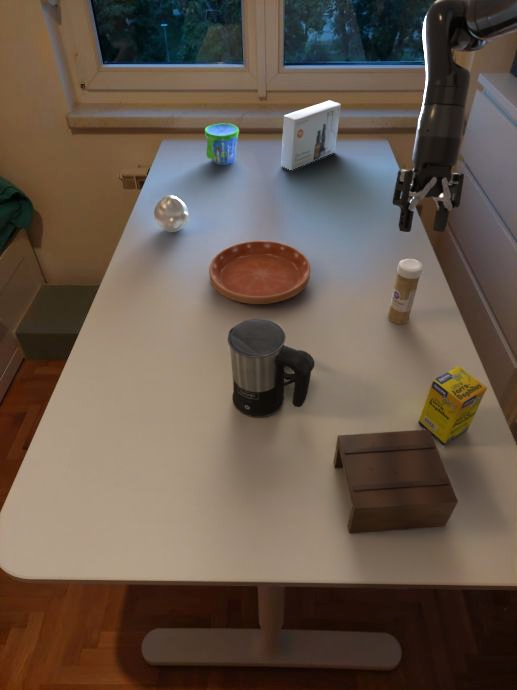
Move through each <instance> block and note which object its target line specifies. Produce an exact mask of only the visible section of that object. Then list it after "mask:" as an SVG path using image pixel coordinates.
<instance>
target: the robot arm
mask: <svg viewBox="0 0 517 690" xmlns="http://www.w3.org/2000/svg"><path fill="white" fill-rule="evenodd" d="M514 33H517V0H435V1H434V2H433V3H432V4H431V5H430V7H429V8H428V10H427V12H426V14H425V17H424V21H423V25H422V45H423V52H424V53H423V54H424V67H425V85H424V92H423V97H422V104H421V110H420V113H419V116H418V120H417V126H416V132H415V138H414V145H413V150H412V157H411V162H412V164H414V166H413V169H412V170H411V169H399V170H398V172H397V176H396V182H395V187H394V191H393V196H392V197H393V198H392V201H391V202H392V205H393V206H397V207H398V208H399V209H400V214H399V217H398V218H399V219H398V228H399V229H398V230H399V231H400V232H403V233H410V232H411V231H412V226H413V220H414V213H415V211H414V209H415V208H416V206H417V205H418V203H419V202H422V201H423V200H424V199H425V198H432V200H433V201H435V205H436V207H437V210H435V216H434V220H433V226H432V229H433V231H434V232H438V233H443V232H445V230H446V228H447V225H448V220H449V214H450V212H451V211H452V210H453V209H455V208H459V207H460V205H461V200H462V199H461V198H462V193H463V185H464V179H465V174H464V173H462V172H452V168H453V167H455V166H457V163H458V159H459V154H460V149H461V142H462V136H463V132H464V127H465V120H466V119H465V117H466V116H465V115H466V107H467V102H468V95H469V91H470V84H471V78H472V75H471V72H470V70H469V69H468V68H466V67H464V66H462V65H460V64H459V63H457V62H456V61H455V60H454V57H453V51H455V52H463V53H471V52H477V51H480V50H482V49H484V48H485V47H486V46H487V45H489V44H490V43H491V42H493V41H494V40H495V39H497V38H501V37H503V36H507V35H510V34H514Z"/></svg>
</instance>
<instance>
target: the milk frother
mask: <svg viewBox="0 0 517 690" xmlns="http://www.w3.org/2000/svg"><path fill="white" fill-rule="evenodd" d="M227 334H228V335H227V344H228V346H229V351H230V359H231V361H230V362H231V373H232V383H233V384H232V385H233V386H232V387H233V388H232V389H233V392H232V402H233V405H234V407H235V408H236V410H237V411H239V412H240V413H241V414H243V415H245V416H247V417H252V418H263V417H268V416H272V415H273V414H275V413H276V412H278V410H279V409H280V408H281V407H282V406H283V404H284V402H285V401H284V400H285V388H286V387H287V386H289V385H292V384H293V383H294V386H293V393H292V406H293V407H295V408H301V407H303V405H304V404H305V402H306V400H307V397H308V393H309V392H308V391H309V386H310V382H311V374H312V371H313V370H314V368H315V360H314V358H313V356H312V354H310V353H309V352H307V351H305V350H301V349H296V348H292V347H290V346H287V345H285V343H286V333H285V331H284V329H283V328H282V327H281V326H280V325H279V324H278V323H276V322H274V321H272V320H268V319H266V318H265V319H263V318H250V319H247V320H242V321H240V322H238V323H236V325H234V326H233V327H231V328H230V329H229V331H228V333H227ZM286 368H288V369H289V370H291V371H292V372H293V373H292V372H291V373H290V372H286V370H285V369H286Z"/></svg>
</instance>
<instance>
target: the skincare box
mask: <svg viewBox="0 0 517 690" xmlns="http://www.w3.org/2000/svg"><path fill="white" fill-rule="evenodd" d="M341 109H342V104H341V103H339V102H337V101H336V102H335V101H333V100H327V101H324V102H321V103H318V104H314V105H312V106H308V107H305V108H303V109H300V110H296V111H293V112H290V113H288V114H284V115H283V124H282V137H281V138H282V140H281V156H280V158H281V159H280V166H281V167H282V166H283V167H282V168H284V167H285V168H284V169H286V168H287V169H286V170H288V169H289V171H290V170H292V169H295V168H297V169H299V168H298V167H300V166H302V165H304V164H307V163H309V162H312V161H314V160H317V159H319V158H322V157H324V156H327V155H329V154H331V153H334V152H335V153H336V145H337V140H338V131H339V124H340V123H339V122H340V117H341V116H340V115H341ZM335 153H334V154H335ZM331 155H332V154H331ZM329 156H330V155H329ZM327 157H328V156H327ZM324 158H325V157H324ZM322 159H323V158H322ZM319 160H320V159H319ZM317 161H318V160H317ZM314 162H315V161H314ZM312 163H313V162H312ZM309 164H310V163H309ZM307 165H308V164H307ZM304 166H305V165H304ZM302 167H303V166H302ZM300 168H301V167H300ZM295 170H296V169H295ZM292 171H293V170H292Z"/></svg>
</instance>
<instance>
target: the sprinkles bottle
mask: <svg viewBox="0 0 517 690" xmlns="http://www.w3.org/2000/svg"><path fill="white" fill-rule="evenodd" d="M423 268H424V266H423V264H422V262H420V261H419V260H417V259H414V258H404V259H401V260H400V261H399V262H398V265H397V269H396V273H397V274H396V278H395V283H394V287H393V291H392V293H391V299H390V305H389V309H388V312H387V318H388V320H390V322H392V323H394V324H397V325H402V324H406V323H408V322H409V320H410V315H411V311H412V309H413V305H414V301H415V297H416V293H417V289H418V285H419V280H420V277H421V275H422V272H423V270H424V269H423Z"/></svg>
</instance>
